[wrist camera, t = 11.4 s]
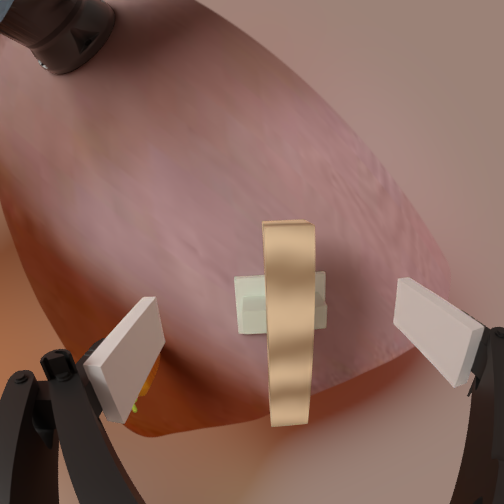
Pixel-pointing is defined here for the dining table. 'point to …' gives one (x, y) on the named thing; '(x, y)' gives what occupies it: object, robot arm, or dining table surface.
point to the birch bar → (289, 317)
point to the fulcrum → (254, 303)
